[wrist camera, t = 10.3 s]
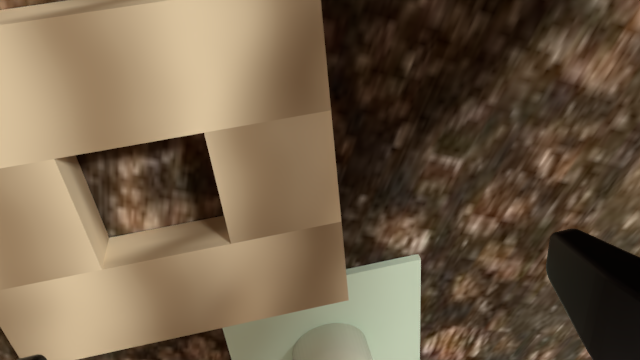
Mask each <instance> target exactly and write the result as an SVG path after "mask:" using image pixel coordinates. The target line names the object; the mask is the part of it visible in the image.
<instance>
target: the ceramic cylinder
mask: <svg viewBox="0 0 640 360" xmlns="http://www.w3.org/2000/svg"><path fill="white" fill-rule="evenodd" d="M292 359H293V360H373V358H372V355H371V352H370V349H369V346H368V343H367V340H366V337H365V335H364V333H363V332H362V331H361V330H360V329H358V328H357V327H355V326H352V325H349V324H344V323H331V324H326V325H322V326H319V327H316V328H314V329H312V330H310V331H308V332H307V333H305V334H304V335H303V336H302V337H301V338H300V339H299V340H298V341H297V342H296V344H295V346H294V348H293V351H292Z"/></svg>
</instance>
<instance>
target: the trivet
mask: <svg viewBox="0 0 640 360" xmlns="http://www.w3.org/2000/svg"><path fill="white" fill-rule="evenodd" d="M346 276H347V286H348V297H349V300H347V301H343V302H338V303H334V304H329V305H325V306H320V307H315V308H311V309H306V310H302V311H297V312H292V313H288V314H283V315H279V316H274V317H270V318H265V319H260V320H256V321H251V322H247V323H242V324H237V325H233V326H228V327H224V328H222V329H223V332H224V335H225V339H226V342H227V346H228V349H229V353H230V356H231V360H293V359H292V351H293V348H294V346H295V344H296V342H297V341H298V340H299V339H300V338H301V337H302V336H303V335H304V334H305V333H307V332H308V331H310V330H312V329H314V328H316V327H319V326H322V325H326V324H331V323H344V324H349V325H352V326H355V327H357V328H358V329H360V330H361V331H362V332H363V333H364V335H365V337H366V340H367V343H368V346H369V349H370V352H371V355H372V358H373V360H420V289H421V259H420V257H419V255H418V254H416V255H411V256H407V257H402V258H397V259H392V260H388V261H383V262H378V263H373V264H369V265H364V266H359V267H354V268H350V269H346Z"/></svg>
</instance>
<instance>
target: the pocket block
mask: <svg viewBox="0 0 640 360" xmlns="http://www.w3.org/2000/svg"><path fill="white" fill-rule="evenodd" d="M199 133H204V135H205V139H206V143H207V147H208V151H209V155H210V159H211V163H212V168H213V172H214V176H215V180H216V184H217V188H218V192H219V196H220V200H221V204H222V209H223V213H224V216H219V217H214V218H209V219H204V220H198V221H193V222H188V223H183V224H178V225H173V226H168V227H162V228H157V229H152V230H147V231H142V232H137V233H132V234H126V235H121V236H116V237H111V238H109V237H108V234H107V232H106V229H105V227H104V224H103V222H102V219H101V217H100V214H99V212H98V209H97V207H96V204H95V202H94V199H93V197H92V195H91V192H90V190H89V187H88V185H87V182H86V180H85V177H84V175H83V172H82V170H81V167H80V165H79V162H78V160H77V157H76V155H80V154H86V153H91V152H97V151H103V150H108V149H114V148H120V147H125V146H131V145H137V144H142V143H148V142H154V141H159V140H165V139H171V138H177V137H182V136H188V135H194V134H199ZM347 300H349V297H348V286H347V276H346V265H345V254H344V243H343V233H342V222H341V211H340V201H339V190H338V179H337V168H336V158H335V147H334V136H333V125H332V115H331V104H330V93H329V83H328V72H327V61H326V50H325V40H324V29H323V18H322V7H321V0H68V1H61V2H54V3H47V4H40V5H33V6H26V7H19V8H12V9H5V10H0V327H1V329H2V331H3V332H4V334H5V335H6V337H7V339H8V340H9V342H10V343H11V345H12V347H13V348H14V350H15V351H16V353H17V355H18V356H19V358H24V357H28V356H32V355H36V354H41V355H43V356H45V357H46V359H47V360H77V359H82V358H86V357H91V356H95V355H100V354H104V353H109V352H114V351H118V350H123V349H127V348H132V347H137V346H141V345H146V344H150V343H155V342H159V341H164V340H169V339H173V338H178V337H182V336H187V335H192V334H196V333H201V332H205V331H210V330H214V329H219V328H224V327H228V326H233V325H237V324H242V323H247V322H251V321H256V320H260V319H265V318H270V317H274V316H279V315H283V314H288V313H292V312H297V311H302V310H306V309H311V308H315V307H320V306H325V305H329V304H334V303H338V302H343V301H347Z"/></svg>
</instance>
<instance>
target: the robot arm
mask: <svg viewBox="0 0 640 360" xmlns="http://www.w3.org/2000/svg"><path fill="white" fill-rule="evenodd" d="M546 271H547V275H548V278H549V280H550V282H551V284H552V286H553V287H554V289H555V291H556V293H557V295H558V297H559V299H560V301H561V303H562V304H563V306H564V308H565V310H566V312H567V314H568V316H569V318H570V320H571V321H572V323H573V325H574V327H575V329H576V331H577V333H578V335H579V337H580V338H581V340H582V342H583V344H584V346H585V347H586V349H587V351H588V353H589V354H590V356H591V357H592V359H593V360H640V257H638V256H636V255H633V254H631V253H629V252H627V251H625V250H622V249H620V248H618V247H616V246H613V245H611V244H609V243H607V242H605V241H602V240H600V239H598V238H596V237H594V236H591V235H589V234H587V233H585V232H583V231H580V230H578V229H568V230H563V231H559V232H555V233H553V234H552V236H551V237H550V242H549V249H548V256H547V263H546ZM17 360H47V359H46V357H45V356H43V355H41V354H36V355H32V356H28V357H24V358H19V359H17Z"/></svg>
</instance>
